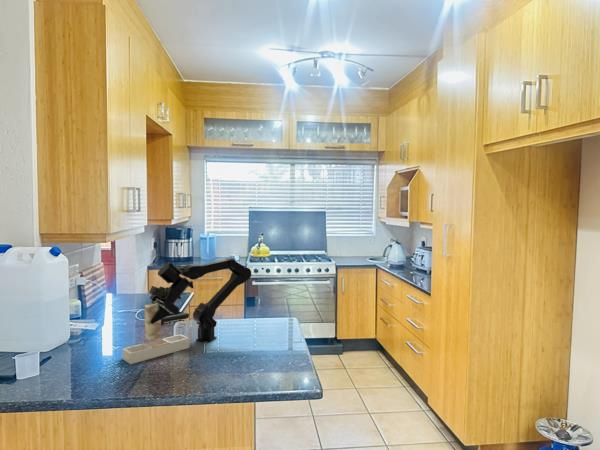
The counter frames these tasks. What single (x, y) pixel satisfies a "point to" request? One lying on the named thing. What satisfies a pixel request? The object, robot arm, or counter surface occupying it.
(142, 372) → the counter surface
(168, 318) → the door handle
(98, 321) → the counter surface
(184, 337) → the rack
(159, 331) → the tan carved block
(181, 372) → the counter surface
